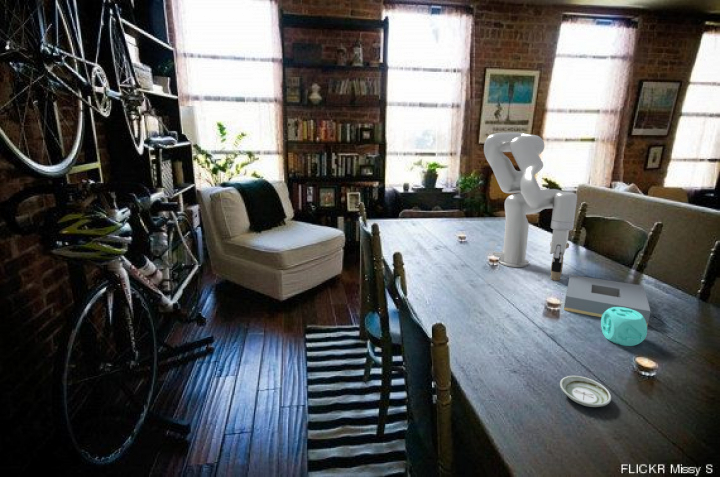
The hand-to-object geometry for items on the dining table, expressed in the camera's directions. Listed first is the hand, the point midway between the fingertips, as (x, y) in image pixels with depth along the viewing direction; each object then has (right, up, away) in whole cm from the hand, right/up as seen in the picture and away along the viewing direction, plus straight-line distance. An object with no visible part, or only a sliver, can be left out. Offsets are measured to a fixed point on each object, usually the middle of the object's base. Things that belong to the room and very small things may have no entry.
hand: (556, 269), depth 146 cm
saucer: (-28, -23, -64) cm, 74 cm away
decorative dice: (-4, -16, -42) cm, 45 cm away
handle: (0, -4, +1) cm, 4 cm away
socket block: (+5, -10, -21) cm, 24 cm away
